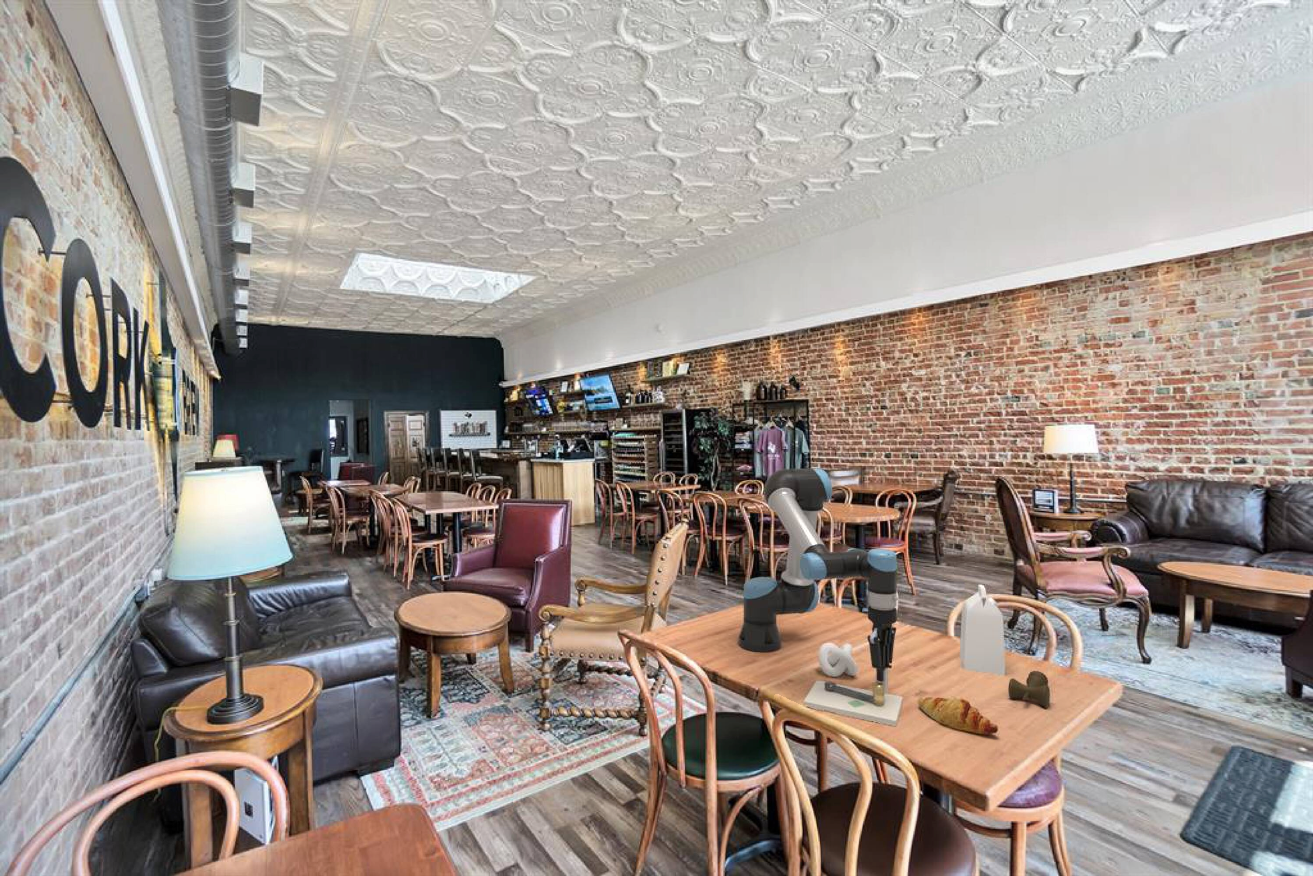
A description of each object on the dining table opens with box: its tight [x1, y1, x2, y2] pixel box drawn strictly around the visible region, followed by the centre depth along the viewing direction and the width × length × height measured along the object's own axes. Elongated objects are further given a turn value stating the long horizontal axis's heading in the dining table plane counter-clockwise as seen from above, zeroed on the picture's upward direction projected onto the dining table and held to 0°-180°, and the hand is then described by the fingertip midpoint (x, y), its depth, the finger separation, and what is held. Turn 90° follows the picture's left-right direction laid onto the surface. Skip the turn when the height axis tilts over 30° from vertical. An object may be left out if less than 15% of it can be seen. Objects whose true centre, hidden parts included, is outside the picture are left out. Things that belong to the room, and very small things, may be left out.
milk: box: [959, 584, 1006, 677], centre depth 194 cm, size 12×12×26 cm
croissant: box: [917, 696, 999, 736], centre depth 157 cm, size 21×10×8 cm, turn 36°
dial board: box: [803, 680, 904, 727], centre depth 167 cm, size 24×16×2 cm, turn 62°
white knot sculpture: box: [817, 642, 858, 678], centre depth 189 cm, size 11×12×9 cm
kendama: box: [1007, 670, 1051, 708], centre depth 171 cm, size 6×10×20 cm
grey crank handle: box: [824, 681, 884, 705], centre depth 168 cm, size 17×3×5 cm, turn 49°
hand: (882, 691), depth 165 cm, fingers closed
